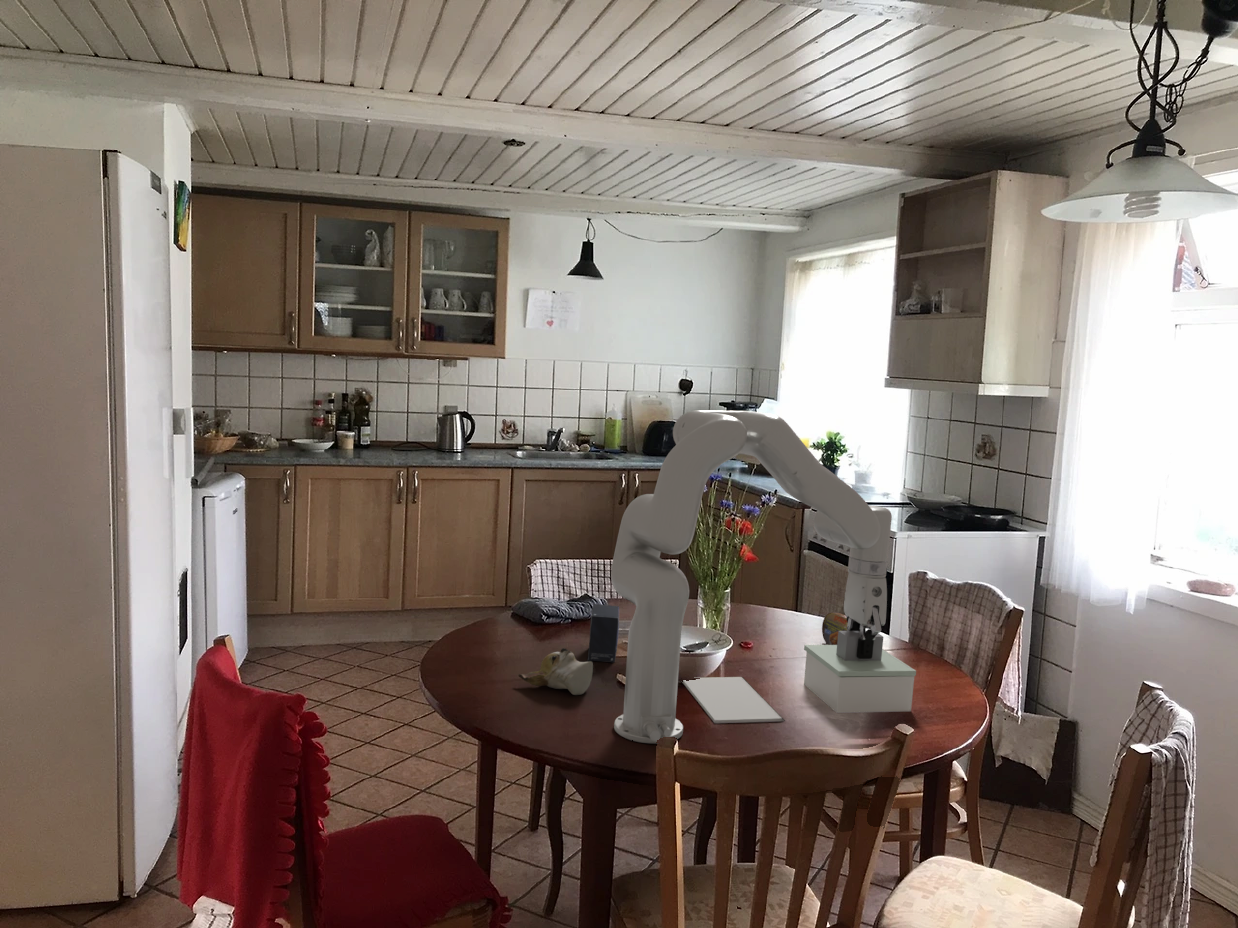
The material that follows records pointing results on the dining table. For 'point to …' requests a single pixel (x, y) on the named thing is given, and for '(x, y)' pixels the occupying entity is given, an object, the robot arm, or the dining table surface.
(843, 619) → the tin
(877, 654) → the lid
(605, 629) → the small box
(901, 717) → the dining table surface
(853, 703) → the storage box
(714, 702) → the mat
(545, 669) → the ceramic sculpture
